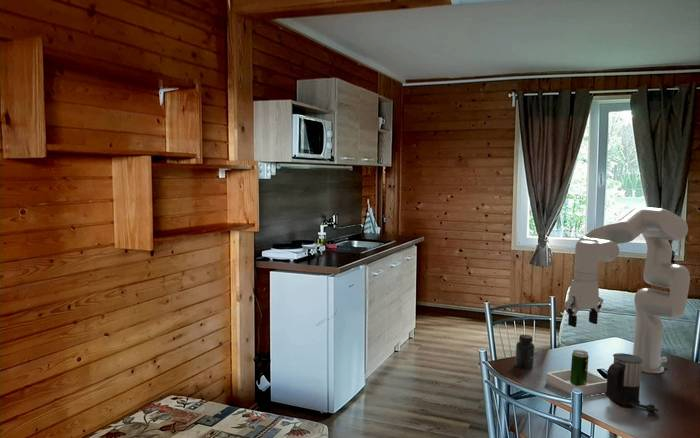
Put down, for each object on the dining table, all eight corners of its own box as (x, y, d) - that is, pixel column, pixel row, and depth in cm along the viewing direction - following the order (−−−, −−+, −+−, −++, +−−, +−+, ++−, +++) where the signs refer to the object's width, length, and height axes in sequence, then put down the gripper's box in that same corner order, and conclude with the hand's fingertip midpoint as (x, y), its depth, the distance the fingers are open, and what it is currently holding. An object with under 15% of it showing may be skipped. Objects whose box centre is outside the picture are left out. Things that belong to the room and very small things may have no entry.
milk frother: (613, 392, 195) (617, 350, 193) (664, 405, 184) (668, 362, 183) (601, 404, 184) (604, 361, 182) (654, 419, 174) (658, 373, 172)
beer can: (570, 386, 196) (572, 353, 195) (569, 381, 201) (572, 348, 200) (586, 389, 194) (589, 355, 193) (585, 383, 199) (588, 350, 198)
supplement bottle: (534, 370, 214) (536, 339, 213) (515, 368, 215) (517, 338, 214) (532, 364, 220) (534, 334, 219) (514, 362, 222) (515, 332, 221)
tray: (579, 378, 207) (579, 367, 206) (610, 392, 194) (611, 381, 194) (545, 383, 200) (546, 373, 200) (575, 399, 188) (576, 387, 187)
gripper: (595, 272, 200) (592, 319, 202) (558, 276, 193) (555, 324, 195) (612, 276, 194) (609, 325, 195) (575, 280, 187) (572, 330, 188)
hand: (582, 324), depth 195 cm, fingers open, 9 cm apart
